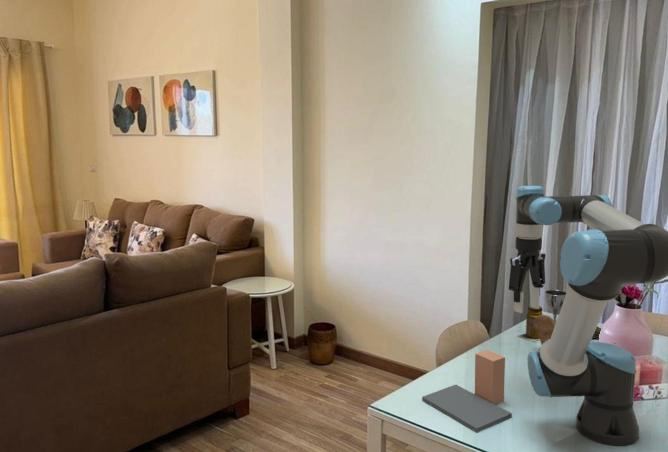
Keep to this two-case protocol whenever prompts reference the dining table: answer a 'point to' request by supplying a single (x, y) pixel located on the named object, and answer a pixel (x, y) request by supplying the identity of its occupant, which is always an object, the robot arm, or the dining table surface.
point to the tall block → (490, 376)
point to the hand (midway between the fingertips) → (526, 309)
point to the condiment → (531, 324)
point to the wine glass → (554, 300)
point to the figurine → (544, 327)
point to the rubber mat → (467, 408)
